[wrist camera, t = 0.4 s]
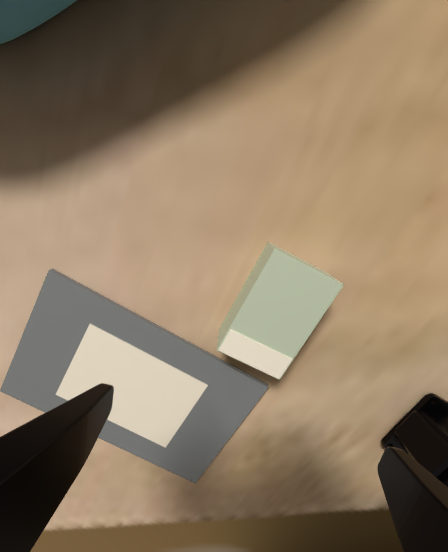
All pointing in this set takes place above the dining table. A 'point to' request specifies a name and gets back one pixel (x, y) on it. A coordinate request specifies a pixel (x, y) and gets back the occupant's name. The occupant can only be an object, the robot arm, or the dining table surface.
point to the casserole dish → (26, 15)
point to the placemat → (130, 377)
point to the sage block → (276, 311)
